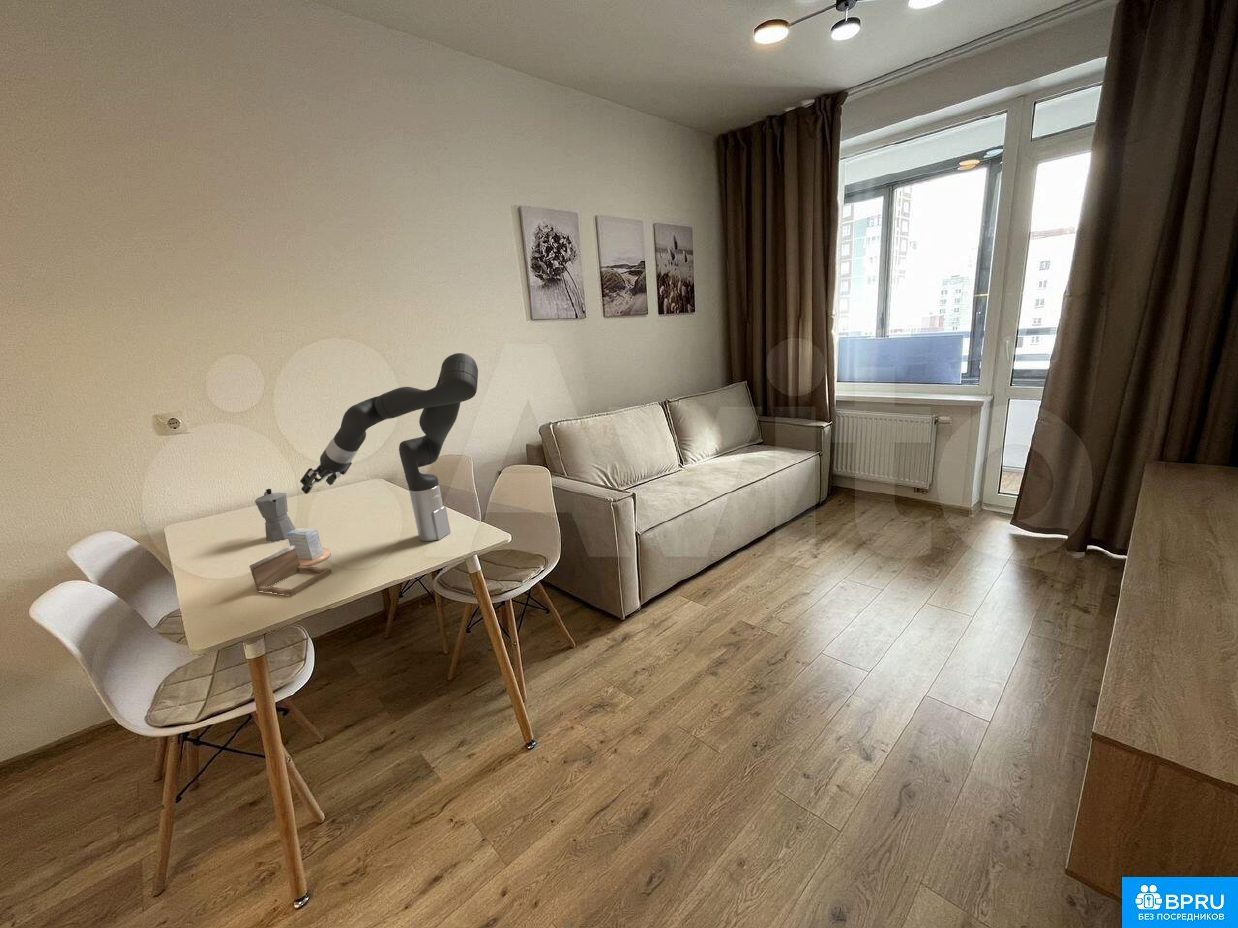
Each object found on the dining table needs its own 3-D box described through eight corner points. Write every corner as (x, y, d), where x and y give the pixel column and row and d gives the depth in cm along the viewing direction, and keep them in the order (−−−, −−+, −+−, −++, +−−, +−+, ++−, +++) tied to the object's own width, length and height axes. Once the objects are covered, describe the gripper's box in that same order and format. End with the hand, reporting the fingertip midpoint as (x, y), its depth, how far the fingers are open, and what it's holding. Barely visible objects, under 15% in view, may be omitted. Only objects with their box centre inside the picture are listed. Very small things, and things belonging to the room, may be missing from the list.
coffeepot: (301, 536, 179) (288, 488, 174) (270, 545, 173) (255, 496, 168) (291, 526, 190) (278, 481, 185) (261, 535, 184) (247, 488, 179)
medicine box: (324, 554, 159) (317, 528, 157) (312, 560, 155) (305, 534, 153) (305, 552, 162) (298, 527, 159) (293, 559, 158) (286, 533, 155)
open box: (332, 573, 147) (325, 547, 145) (291, 596, 136) (283, 568, 134) (299, 569, 152) (292, 544, 150) (257, 591, 140) (248, 565, 138)
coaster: (339, 552, 162) (339, 549, 162) (306, 569, 151) (306, 566, 151) (311, 549, 166) (311, 546, 166) (277, 566, 155) (277, 563, 155)
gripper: (328, 468, 140) (304, 504, 147) (367, 456, 153) (344, 488, 160) (309, 449, 141) (287, 485, 147) (350, 438, 154) (328, 471, 160)
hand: (316, 487), depth 154 cm, fingers open, 8 cm apart
